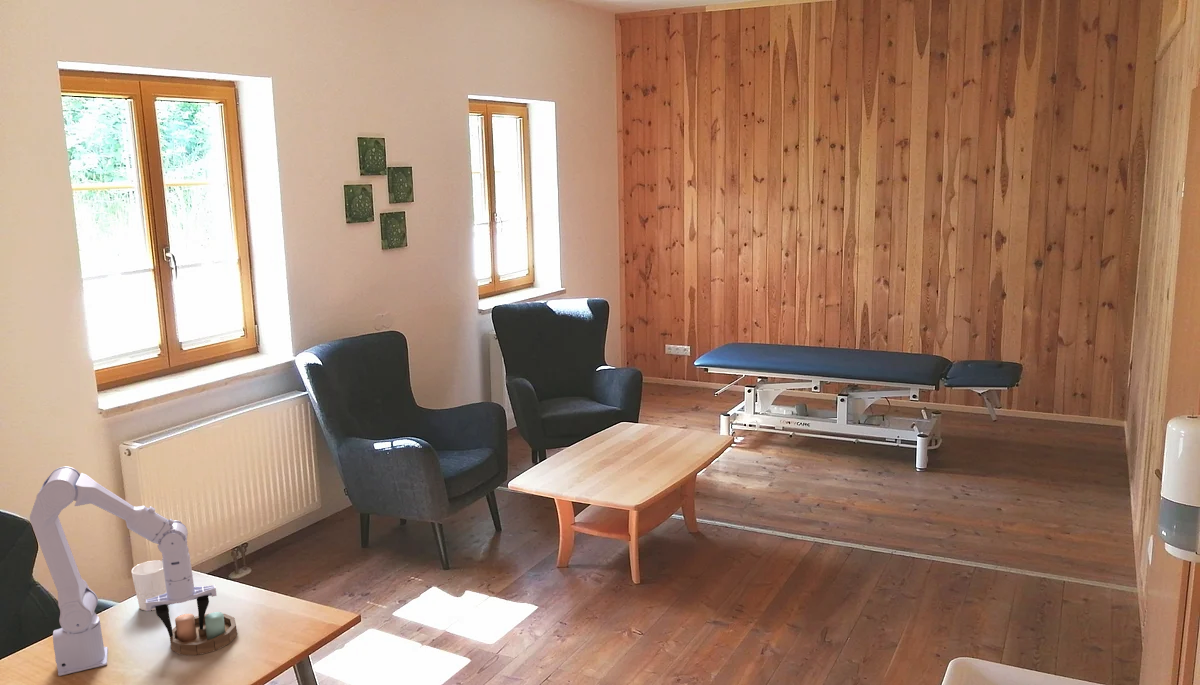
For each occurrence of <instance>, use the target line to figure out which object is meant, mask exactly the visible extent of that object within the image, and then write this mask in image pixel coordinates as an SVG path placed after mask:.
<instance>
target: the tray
mask: <svg viewBox="0 0 1200 685" xmlns="http://www.w3.org/2000/svg"><path fill="white" fill-rule="evenodd" d="M208 614H209V613H205V616H206V615H208ZM223 614H224V624H225V633H223V634H221V635H219V636H217V637H215V638H213V639H210V640H208V639H207V635H206V625H205V616H204V621H203V629H200V627H199V616H198V615H197V616H194V620H195V627H196V634H197V637H196V638H195V639H194V640H192V641H190V642H181V641H179V640H178V637H177V630H176V626H175V627H174V628H172V632H173V636H169V641H170V642H169V643H170V649H171V651H172V652H175V653H177V654H178V655H180V656H199V655H203V654H208V653H212V652H215V651H218V650H219V649H220V650H221V649H222V648H224V647H225V646H228V645H229V644H231V643H232V641H233V640H234V639H235V638H236V637H237V635H238V629H237V623H236V619H235V617H234V616H231V615H228V614H226V613H223Z"/></svg>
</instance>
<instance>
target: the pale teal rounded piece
mask: <svg viewBox="0 0 1200 685" xmlns="http://www.w3.org/2000/svg"><path fill="white" fill-rule="evenodd" d="M207 614H208V615H206V616H205V625H206V635H207V639H208V640H210V639H213V638H215V637H217V636H219V635H221V634H223V633H225V624H224V614H225V613H223V612H221V611H213V612H210V613H207Z"/></svg>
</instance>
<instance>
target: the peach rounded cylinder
mask: <svg viewBox="0 0 1200 685" xmlns="http://www.w3.org/2000/svg"><path fill="white" fill-rule="evenodd" d="M194 617H195V615H194V614H193V613H184V614H181V615H179V616H176V617H175V618H174V622H175V623H174V624H175V627H176V630H177V637H178V640H179V641H181V642H190V641H192V640H194V639H195V638H196V637H197V634H196V627H195V620H194Z"/></svg>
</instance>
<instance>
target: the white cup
mask: <svg viewBox="0 0 1200 685" xmlns="http://www.w3.org/2000/svg"><path fill="white" fill-rule="evenodd" d="M131 576H132V581H133V582H132V583H133V586H134V591H135V595H136V599H137V602H138V608H139V609H140V610H142V611H147V607H146V599H150V598H153V597H156V596H159V595H162V594H165V593H167V591H166V584H165V577H164V570H163V563H162V560H159V559H158V560H157V559H156V560H148V561H144V562H141V563H139V564H137V565H135V566H133V567H132V569H131ZM149 611H151V610H149ZM149 611H147V612H149ZM152 611H156V608H152Z"/></svg>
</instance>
